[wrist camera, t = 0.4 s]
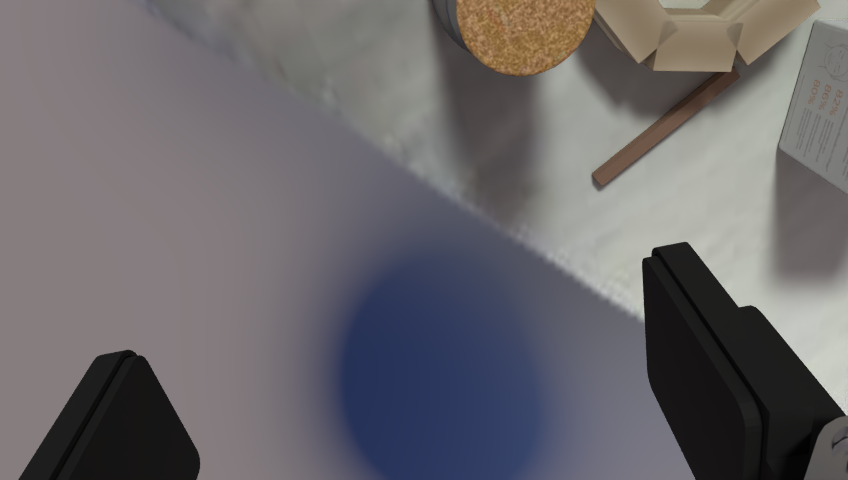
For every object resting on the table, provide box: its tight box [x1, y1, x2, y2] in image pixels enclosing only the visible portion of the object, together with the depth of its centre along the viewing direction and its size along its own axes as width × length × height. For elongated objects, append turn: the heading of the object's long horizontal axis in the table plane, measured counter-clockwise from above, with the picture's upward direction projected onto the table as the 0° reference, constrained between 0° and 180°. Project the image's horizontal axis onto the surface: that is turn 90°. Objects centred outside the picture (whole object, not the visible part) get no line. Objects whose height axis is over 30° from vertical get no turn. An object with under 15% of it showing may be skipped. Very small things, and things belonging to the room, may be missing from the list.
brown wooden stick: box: [592, 66, 740, 186], centre depth 39 cm, size 10×1×1 cm, turn 134°
